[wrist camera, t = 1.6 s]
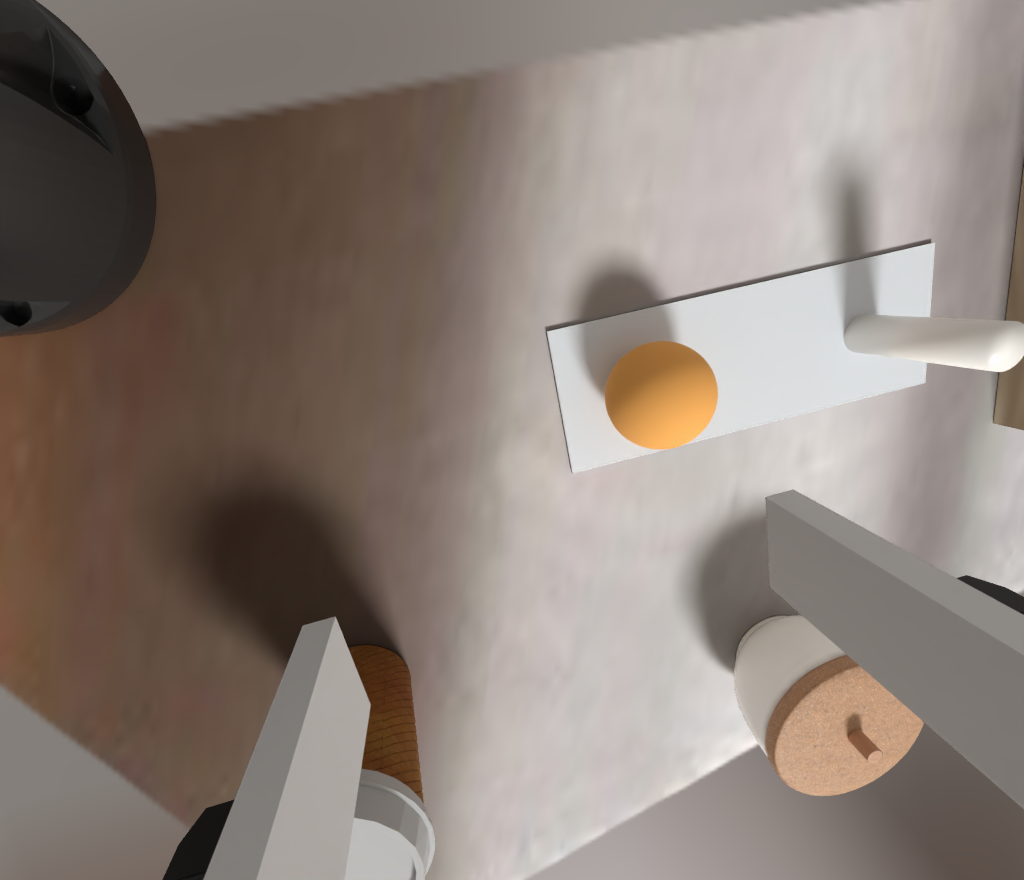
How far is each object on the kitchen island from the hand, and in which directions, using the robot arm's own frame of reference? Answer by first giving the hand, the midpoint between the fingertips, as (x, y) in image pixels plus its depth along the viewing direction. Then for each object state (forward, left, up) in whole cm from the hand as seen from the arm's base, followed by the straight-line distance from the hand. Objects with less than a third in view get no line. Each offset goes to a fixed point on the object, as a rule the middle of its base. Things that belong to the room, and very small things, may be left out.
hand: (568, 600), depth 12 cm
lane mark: (+13, +11, -18) cm, 25 cm away
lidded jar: (+28, -7, -18) cm, 34 cm away
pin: (+19, +15, -18) cm, 30 cm away
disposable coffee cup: (0, -20, -18) cm, 27 cm away
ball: (+7, +6, -15) cm, 18 cm away
